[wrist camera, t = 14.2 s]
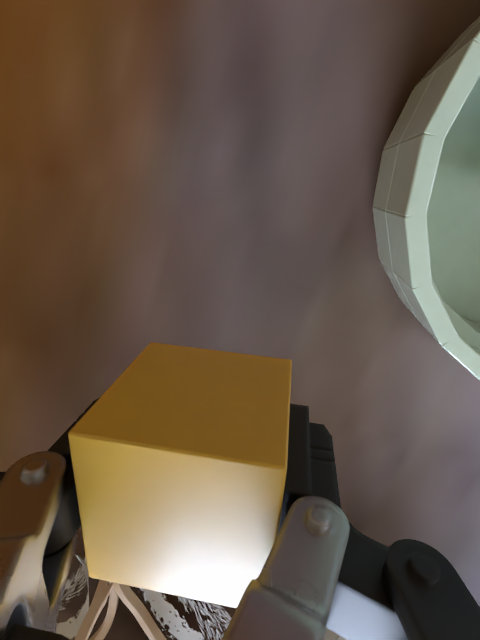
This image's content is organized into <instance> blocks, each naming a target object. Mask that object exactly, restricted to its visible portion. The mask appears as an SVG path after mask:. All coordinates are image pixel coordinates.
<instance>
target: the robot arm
mask: <svg viewBox="0 0 480 640" xmlns="http://www.w3.org/2000/svg"><path fill="white" fill-rule="evenodd" d="M98 399H99V398H98ZM98 399H96V400H95V401H93V402H92V404H91V405H90V406H89V407H88V408H87V409H86V410H85V412H84V413H82V414H81V415H80V416H79V418H78V419H77V421H76V422H74V423H73V424H72V425H71V426H70V427H69V428H68V429H67V430H66V432H65V433H64V434H63V435H62V436H61V437H60V438H59V439H58V440H57V441H56V442H55V443H54V444H53V446H52V447H51V448H50V449H49V450H48V451H43V452H37V453H33V454H30V455H28V456H25V457H23V458H21V459H20V460H18V461H17V462H15V463H14V464H13V465H12V466H11V467H10V468H9V469H8V470H7V472H0V640H69V639H68V638H66V637H65V636H63V635H62V634H57V633H56V624H57V617H58V612H59V608H60V604H61V601H62V597H63V593H64V589H65V585H66V582H67V578H68V574H69V570H70V566H71V563H72V559H73V555H74V551H75V547H76V544H77V530H78V528H79V527H80V525H81V520H80V514H79V507H78V500H77V493H76V486H75V479H74V472H73V466H72V459H71V452H70V445H69V438H68V433H69V431H70V430H71V429H72V428H73V427H74V426H75V425H76V423H77V422H78V421H79V420H80V419H81V418H82V417H83V416H84V415H85V414H86V413H87V411H88V410H89V409H90V408H91V407H92V406H93V405H94V404H95V403H96V402H97V401H98ZM326 628H328V629H330V630H331V631H333V632H335V633H336V634H338V635H340V636H341V637H343V638H345V639H346V640H480V607H479V606H478V604H477V603H476V601H475V600H474V598H473V596H472V595H471V593H470V592H469V590H468V589H467V587H466V586H465V584H464V583H463V581H462V580H461V578H460V577H459V575H458V574H457V572H456V571H455V569H454V568H453V566H452V565H451V564H450V562H449V561H448V560H447V559H446V558H445V557H444V556H443V555H442V554H441V553H440V552H438V551H437V550H436V549H434V548H433V547H431V546H429V545H427V544H425V543H423V542H420V541H417V540H412V539H402V540H398V541H396V542H394V543H393V544H392V545H391V546H390V547H387V546H385V545H383V544H381V543H379V542H377V541H375V540H373V539H371V538H369V537H367V536H365V535H363V534H362V533H360V532H359V531H358V530H357V529H355V528H354V527H353V526H352V525H351V524H350V523H349V521H348V519H347V517H346V515H345V514H344V512H343V511H342V509H341V505H340V498H339V490H338V482H337V474H336V466H335V458H334V452H333V441H332V436H331V435H330V433H329V432H328V430H327V429H326V427H325V426H324V425H323V424H316V423H309V408H308V406H303V405H296V404H290V415H289V437H288V460H287V473H286V480H285V487H284V494H283V502H282V509H281V516H280V523H279V530H278V536H277V538H276V540H275V542H274V544H273V546H272V549H271V551H270V553H269V555H268V557H267V560H266V562H265V564H264V566H263V568H262V570H261V573H260V575H259V577H258V578H257V579H256V580H255V579H252V580H251V581H250V583H249V584H248V586H247V588H246V589H245V591H244V593H243V596H242V598H241V600H240V602H239V604H238V606H237V608H236V610H235V612H234V614H233V617H232V619H231V621H230V623H229V625H228V627H227V629H226V631H225V633H224V635H223V638H222V640H323V639H324V635H325V631H326Z"/></svg>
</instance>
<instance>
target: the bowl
mask: <svg viewBox="0 0 480 640" xmlns="http://www.w3.org/2000/svg"><path fill="white" fill-rule="evenodd" d="M384 149H385V150H383V153H382V158H381V163H380V169H379V174H378V179H377V185H376V190H375V195H374V201H373V209H372V210H373V217H374V225H375V233H376V240H377V248H378V255H379V258H380V262H381V263H382V265H383V267H384V269H385V271H386V273H387V275H388V277H389V279H390V281H391V283H392V285H393V287H394V289H395V291H396V292H397V294H398V296H399V298H400V300H401V301H402V302H403V303H404V305H405V306H406V307H407V308H408V309H409V310H410V311H411V312H412V314H413V315H414V316H415V317H416V318H417V319H418V320H419V321H420V323H421V324H422V325H423V326H424V327H425V328H426V329H427V331H428V332H429V333H430V334H431V335H432V336H433V337H434V338H435V340H436V341H437V342H438V343H439V344H440V345H441V346H442V347H443V348H444V349H445V350H446V351H447V352H448V353H449V354H450V355H452V356H453V357H454V358H455V359H456V360H457V361H458V362H459V363H460V364H462V365H463V366H464V367H465V368H466V369H467V370H468V371H469V372H470V373H471V374H473V375H474V376H475V377H476V378H477V379H478V380H479V381H480V17H479V18H477V19H476V20H475V21H474V22H473V23H472V24H471V25H470V26H469V27H468V28H467V29H466V30H465V31H463V32H462V34H461V35H460V36H459V37H458V38H457V39H456V40H455V42H454V43H453V44H452V45H451V46H450V47H449V48H448V50H447V51H446V52H445V53H444V54H443V55H442V56H441V58H440V59H439V60H438V61H437V62H436V63H435V64H434V66H433V67H432V68H431V69H430V70H429V71H428V72H427V74H426V75H425V76H424V77H423V78H422V79H421V80H420V82H419V83H418V84H417V85H416V86H415V87H414V90H413V91H412V92H411V94H410V96H409V98H408V100H407V102H406V104H405V106H404V108H403V110H402V112H401V114H400V116H399V118H398V120H397V122H396V124H395V126H394V128H393V130H392V132H391V134H390V136H389V138H388V140H387V142H386V144H385V146H384Z"/></svg>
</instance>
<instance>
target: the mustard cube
mask: <svg viewBox="0 0 480 640" xmlns="http://www.w3.org/2000/svg"><path fill="white" fill-rule="evenodd" d="M291 369H292V361H291V360H289V359H281V358H273V357H265V356H257V355H249V354H241V353H233V352H225V351H217V350H209V349H201V348H193V347H185V346H177V345H169V344H161V343H153V342H152V343H150V344H149V345H148V346H147V347H146V348H145V349H144V350H143V351H142V353H141V354H140V355H139V356H138V357H137V358H136V359H135V360H134V361H133V362H132V363H131V365H130V366H129V367H128V368H127V369H126V370H125V371H124V372H123V373H122V374H121V375H120V377H119V378H118V379H117V380H116V381H115V382H114V383H113V384H112V385H111V386H110V387H109V389H108V390H107V391H106V392H105V393H104V394H103V395H102V396H101V397H100V398H99V399H98V401H97V402H96V403H95V404H94V405H93V406H92V407H91V408H90V409H89V410H88V411H87V413H86V414H85V415H84V416H83V417H82V418H81V419H80V420H79V421H78V422H77V423H76V425H75V426H74V427H73V428H72V429H71V430H70V431H69V433H68V438H69V445H70V452H71V459H72V466H73V472H74V479H75V486H76V493H77V500H78V507H79V514H80V520H81V527H82V534H83V541H84V548H85V555H86V561H87V568H88V575H89V577H91V578H95V579H100V580H105V581H109V582H114V583H119V584H123V585H128V586H133V587H138V588H142V589H147V590H152V591H157V592H161V593H166V594H171V595H175V596H180V597H185V598H190V599H194V600H199V601H204V602H209V603H213V604H218V605H223V606H227V607H232V608H237V606H238V604H239V602H240V600H241V598H242V596H243V593H244V591H245V589H246V588H247V586H248V584H249V583H250V581H251V580H252V579H255V580H256V579H257V578H258V577H259V575H260V573H261V570H262V568H263V566H264V564H265V562H266V560H267V557H268V555H269V553H270V551H271V549H272V546H273V544H274V542H275V540H276V538H277V536H278V530H279V523H280V516H281V509H282V502H283V494H284V487H285V480H286V473H287V460H288V437H289V415H290V392H291Z"/></svg>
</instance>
